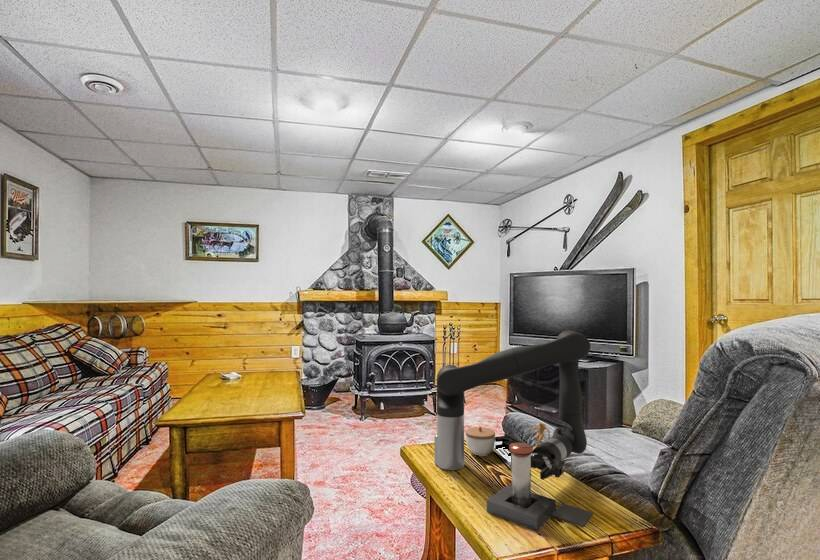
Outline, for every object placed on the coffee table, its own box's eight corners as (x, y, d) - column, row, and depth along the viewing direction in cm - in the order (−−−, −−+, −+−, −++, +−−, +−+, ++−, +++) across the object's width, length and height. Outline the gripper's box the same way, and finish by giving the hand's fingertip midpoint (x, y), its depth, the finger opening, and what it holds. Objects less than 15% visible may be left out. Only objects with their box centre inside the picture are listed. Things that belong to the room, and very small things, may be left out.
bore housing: (486, 511, 114) (486, 500, 114) (508, 495, 123) (508, 484, 123) (536, 530, 105) (536, 518, 105) (555, 511, 114) (555, 500, 114)
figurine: (524, 455, 153) (524, 421, 154) (535, 451, 157) (535, 418, 157) (542, 462, 146) (542, 427, 147) (554, 459, 150) (554, 424, 150)
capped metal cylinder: (505, 512, 114) (505, 447, 114) (516, 503, 118) (515, 440, 119) (527, 520, 110) (526, 452, 110) (536, 510, 114) (536, 446, 115)
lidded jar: (475, 460, 148) (475, 433, 149) (460, 450, 158) (460, 424, 159) (501, 455, 153) (501, 429, 153) (484, 446, 163) (484, 421, 163)
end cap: (527, 460, 149) (527, 441, 149) (509, 463, 146) (509, 443, 146) (511, 450, 158) (511, 432, 158) (494, 453, 156) (494, 434, 156)
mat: (551, 516, 112) (551, 514, 112) (562, 504, 118) (562, 502, 118) (582, 526, 107) (582, 525, 107) (593, 514, 113) (593, 512, 113)
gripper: (527, 436, 134) (502, 451, 121) (573, 447, 125) (551, 464, 112) (527, 460, 134) (502, 478, 121) (573, 473, 124) (552, 493, 112)
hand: (526, 471), depth 117 cm, fingers open, 8 cm apart
